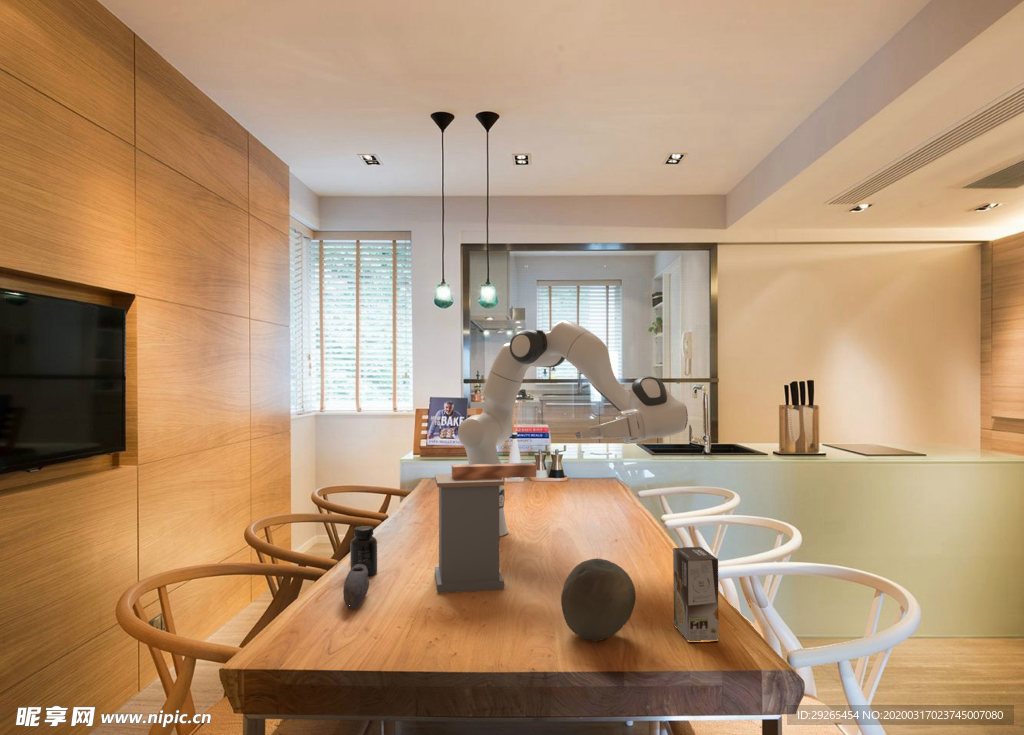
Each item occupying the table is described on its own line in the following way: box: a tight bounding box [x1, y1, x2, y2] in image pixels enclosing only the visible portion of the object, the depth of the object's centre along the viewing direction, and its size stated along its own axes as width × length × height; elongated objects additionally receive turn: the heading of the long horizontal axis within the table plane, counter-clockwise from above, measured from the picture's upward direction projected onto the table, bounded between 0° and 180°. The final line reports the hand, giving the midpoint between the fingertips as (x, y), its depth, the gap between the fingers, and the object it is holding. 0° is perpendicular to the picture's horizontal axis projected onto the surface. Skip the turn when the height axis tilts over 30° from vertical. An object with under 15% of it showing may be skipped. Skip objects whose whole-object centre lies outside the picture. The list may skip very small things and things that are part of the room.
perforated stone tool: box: [342, 564, 370, 611], centre depth 142 cm, size 15×5×7 cm, turn 4°
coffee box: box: [672, 546, 720, 641], centre depth 125 cm, size 9×6×16 cm
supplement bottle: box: [349, 525, 378, 578], centre depth 162 cm, size 7×7×12 cm
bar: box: [451, 462, 537, 479], centre depth 158 cm, size 21×4×3 cm, turn 100°
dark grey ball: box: [560, 558, 637, 642], centre depth 123 cm, size 14×14×15 cm
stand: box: [434, 473, 505, 594], centre depth 156 cm, size 16×14×26 cm
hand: (577, 435), depth 166 cm, fingers open, 8 cm apart
